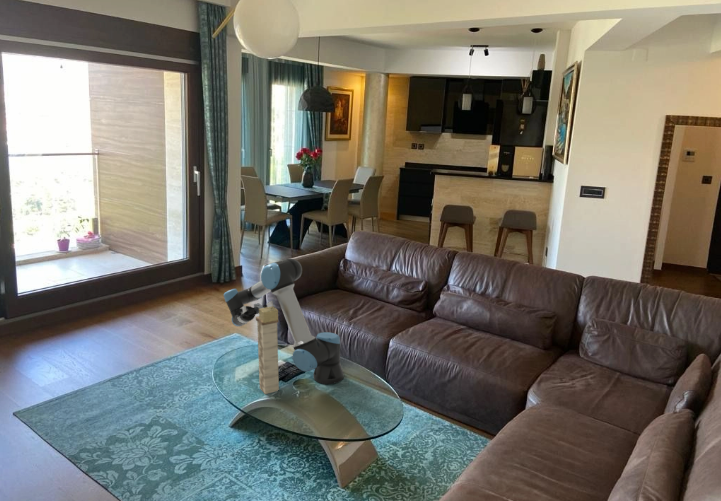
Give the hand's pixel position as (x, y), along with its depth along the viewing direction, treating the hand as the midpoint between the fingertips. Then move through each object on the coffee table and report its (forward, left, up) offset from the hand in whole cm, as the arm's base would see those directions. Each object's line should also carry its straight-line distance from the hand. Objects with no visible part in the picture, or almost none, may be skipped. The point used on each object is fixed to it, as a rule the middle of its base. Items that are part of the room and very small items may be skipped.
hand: (259, 305), depth 261 cm
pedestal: (-8, +4, -40) cm, 41 cm away
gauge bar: (-5, +2, -3) cm, 6 cm away
